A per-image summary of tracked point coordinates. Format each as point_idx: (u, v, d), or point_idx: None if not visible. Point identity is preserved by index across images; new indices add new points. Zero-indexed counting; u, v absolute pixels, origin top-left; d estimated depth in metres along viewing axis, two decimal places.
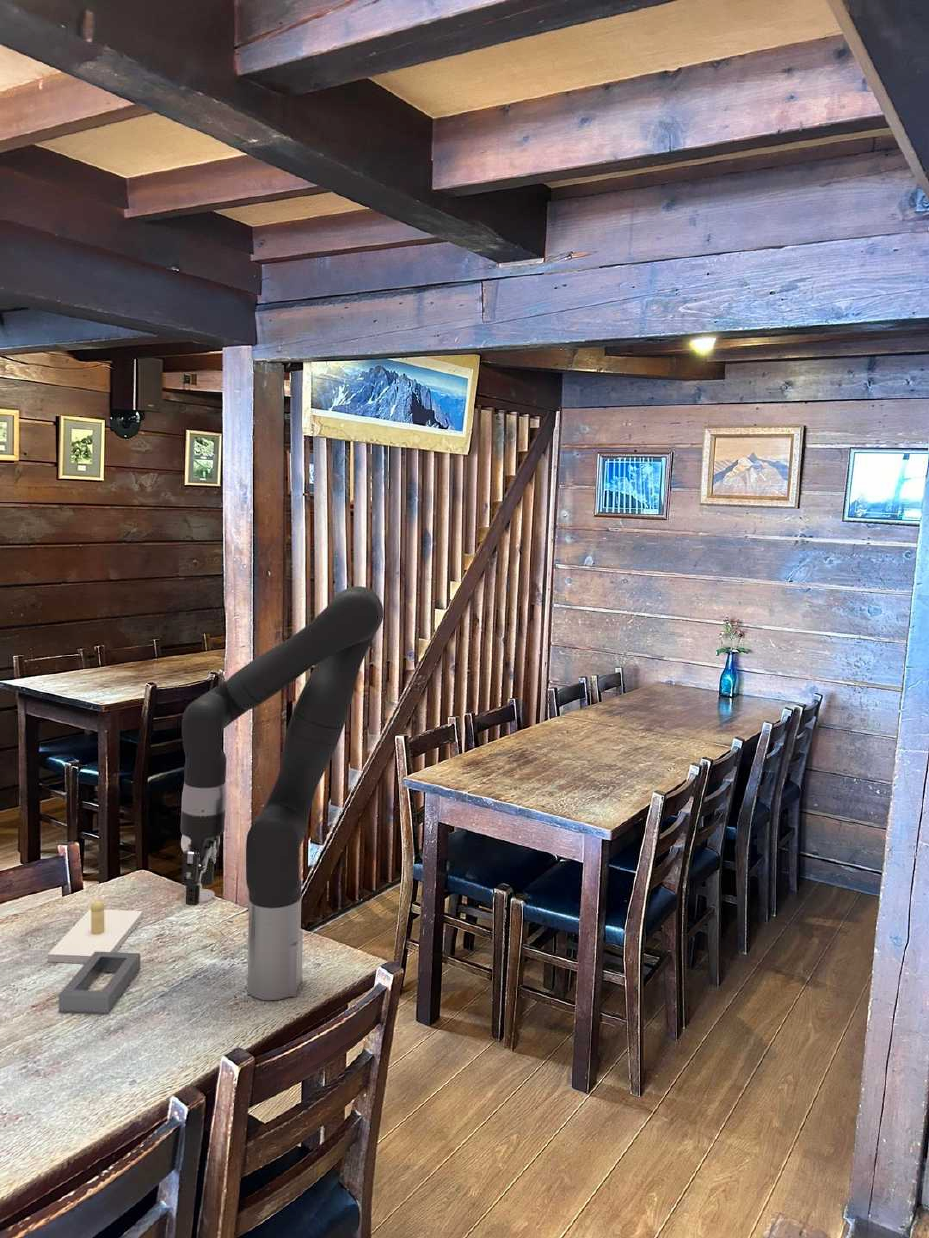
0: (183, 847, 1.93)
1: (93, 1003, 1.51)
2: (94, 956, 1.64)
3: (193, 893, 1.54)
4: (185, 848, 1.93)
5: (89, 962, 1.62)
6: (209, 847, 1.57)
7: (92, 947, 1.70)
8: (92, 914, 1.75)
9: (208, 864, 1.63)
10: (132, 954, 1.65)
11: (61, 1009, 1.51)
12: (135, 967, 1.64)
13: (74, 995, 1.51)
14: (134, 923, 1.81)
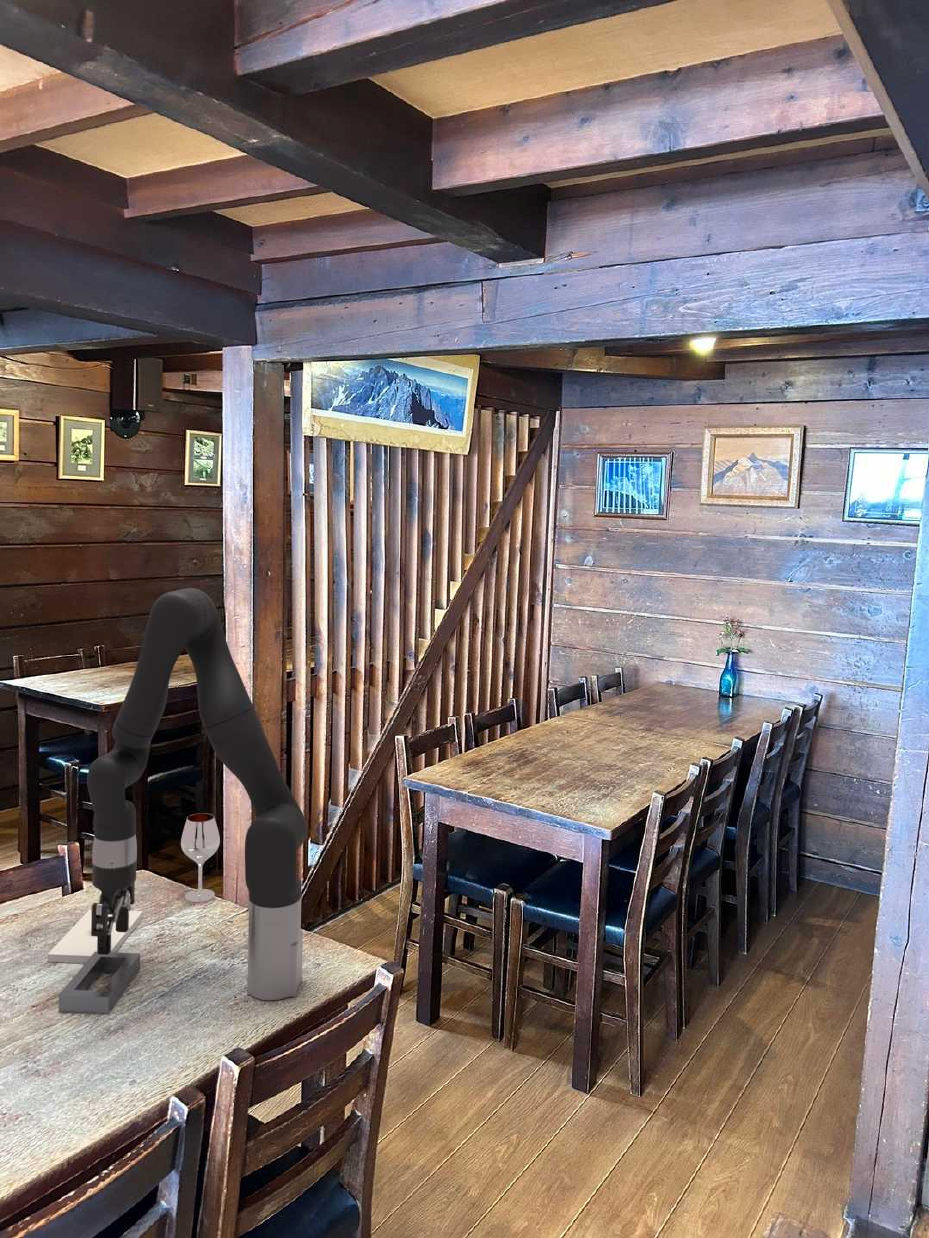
0: (183, 847, 1.93)
1: (93, 1003, 1.51)
2: (94, 956, 1.64)
3: (104, 943, 1.59)
4: (185, 848, 1.93)
5: (89, 962, 1.62)
6: (120, 897, 1.62)
7: (92, 947, 1.70)
8: None
9: (123, 912, 1.68)
10: (132, 954, 1.65)
11: (61, 1009, 1.51)
12: (135, 967, 1.64)
13: (74, 995, 1.51)
14: (134, 923, 1.81)
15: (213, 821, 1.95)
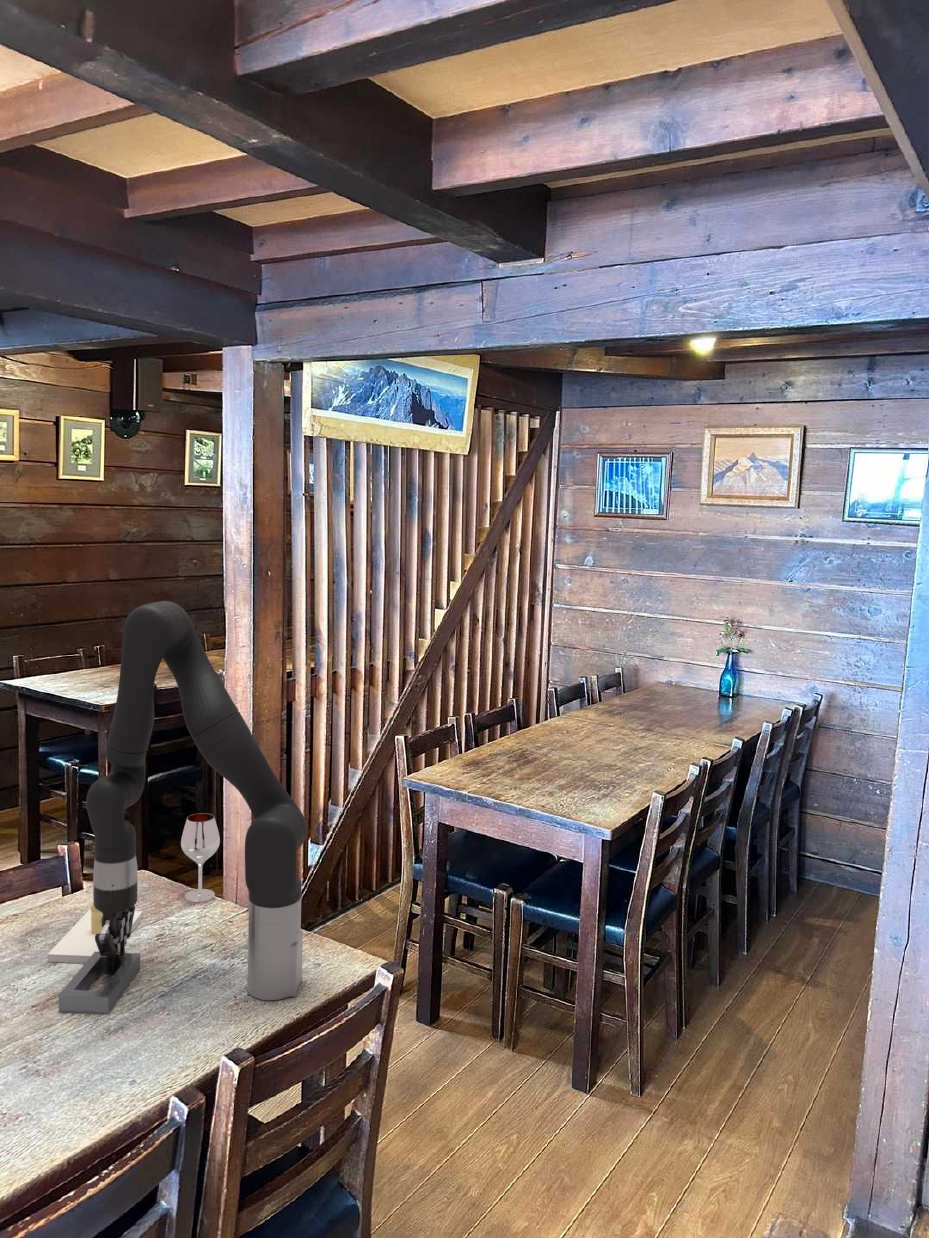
0: (183, 847, 1.93)
1: (93, 1003, 1.51)
2: (94, 956, 1.64)
3: (113, 962, 1.63)
4: (185, 848, 1.93)
5: (89, 962, 1.62)
6: (121, 920, 1.62)
7: (92, 947, 1.70)
8: (92, 914, 1.75)
9: None
10: (132, 954, 1.65)
11: (61, 1009, 1.51)
12: (135, 967, 1.64)
13: (74, 995, 1.51)
14: (134, 923, 1.81)
15: (213, 821, 1.95)
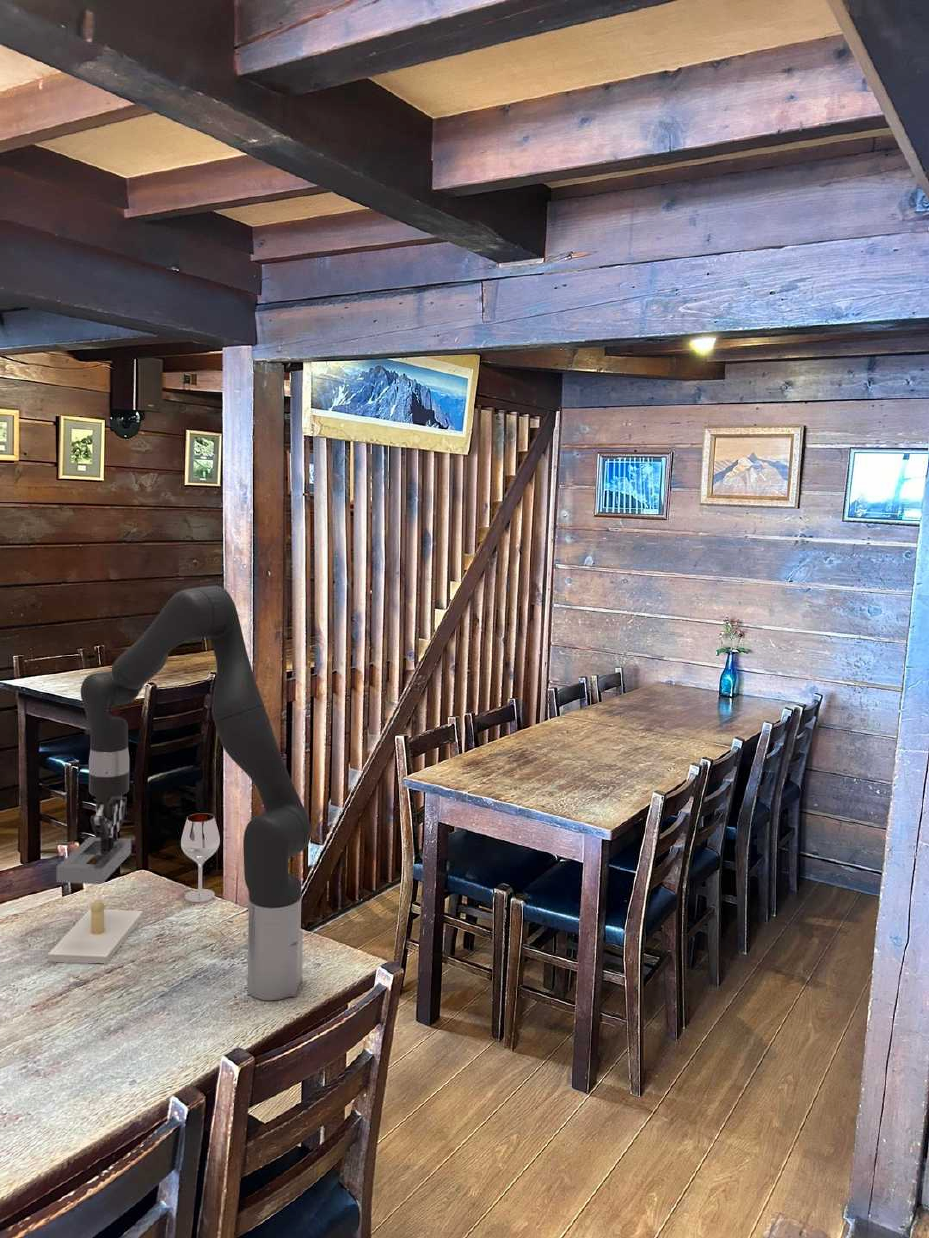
0: (183, 847, 1.93)
1: (88, 874, 1.67)
2: (89, 840, 1.80)
3: (106, 844, 1.79)
4: (185, 848, 1.93)
5: (84, 844, 1.78)
6: (114, 806, 1.78)
7: (92, 947, 1.70)
8: (92, 914, 1.75)
9: None
10: (124, 839, 1.81)
11: (59, 879, 1.67)
12: (126, 850, 1.79)
13: (71, 867, 1.67)
14: (134, 923, 1.81)
15: (213, 821, 1.95)
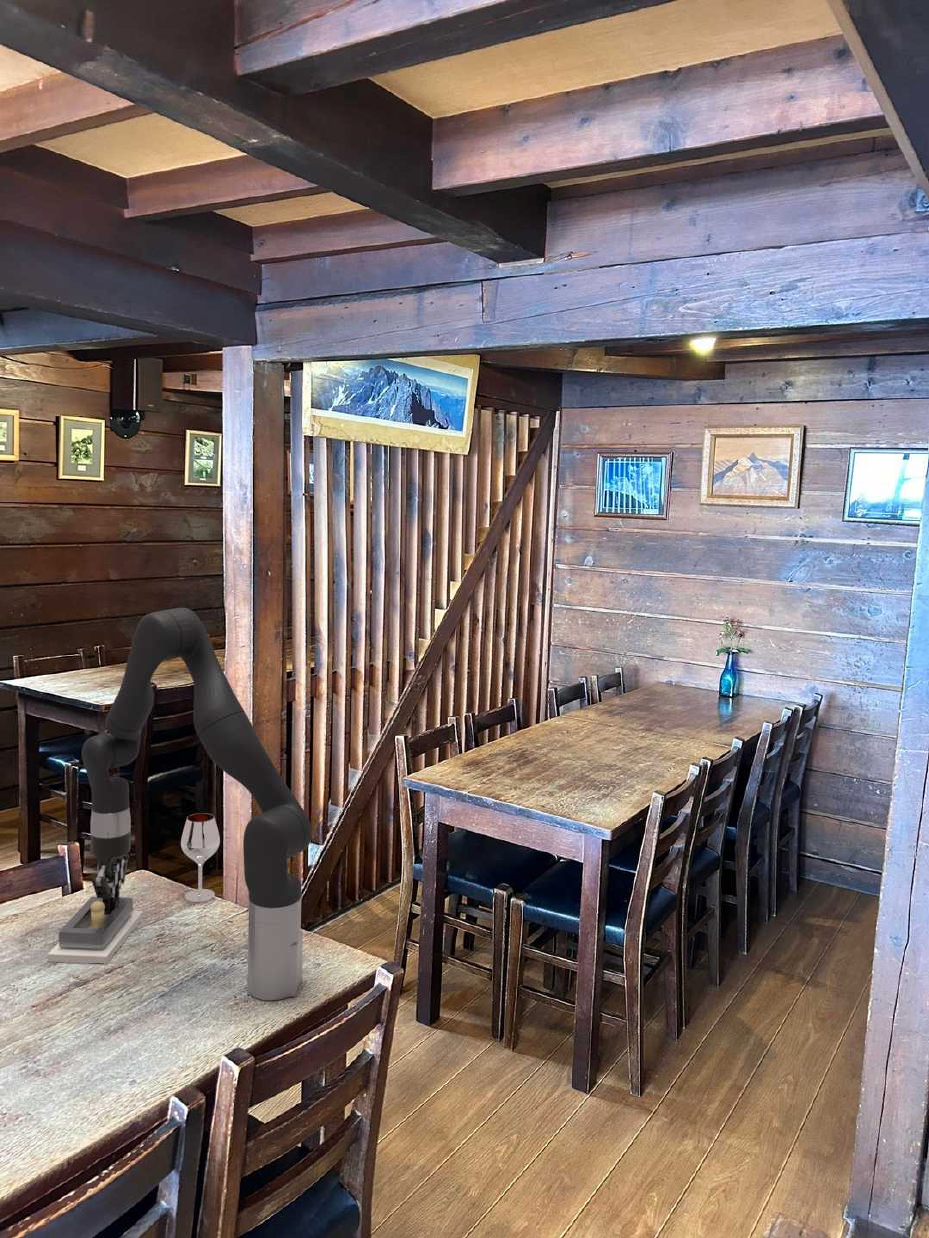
0: (183, 847, 1.93)
1: (90, 939, 1.69)
2: (91, 900, 1.82)
3: (108, 904, 1.80)
4: (185, 848, 1.93)
5: (86, 905, 1.80)
6: (116, 866, 1.80)
7: None
8: (92, 914, 1.75)
9: None
10: (126, 898, 1.83)
11: (61, 944, 1.69)
12: (128, 910, 1.81)
13: (73, 932, 1.69)
14: (134, 923, 1.81)
15: (213, 821, 1.95)
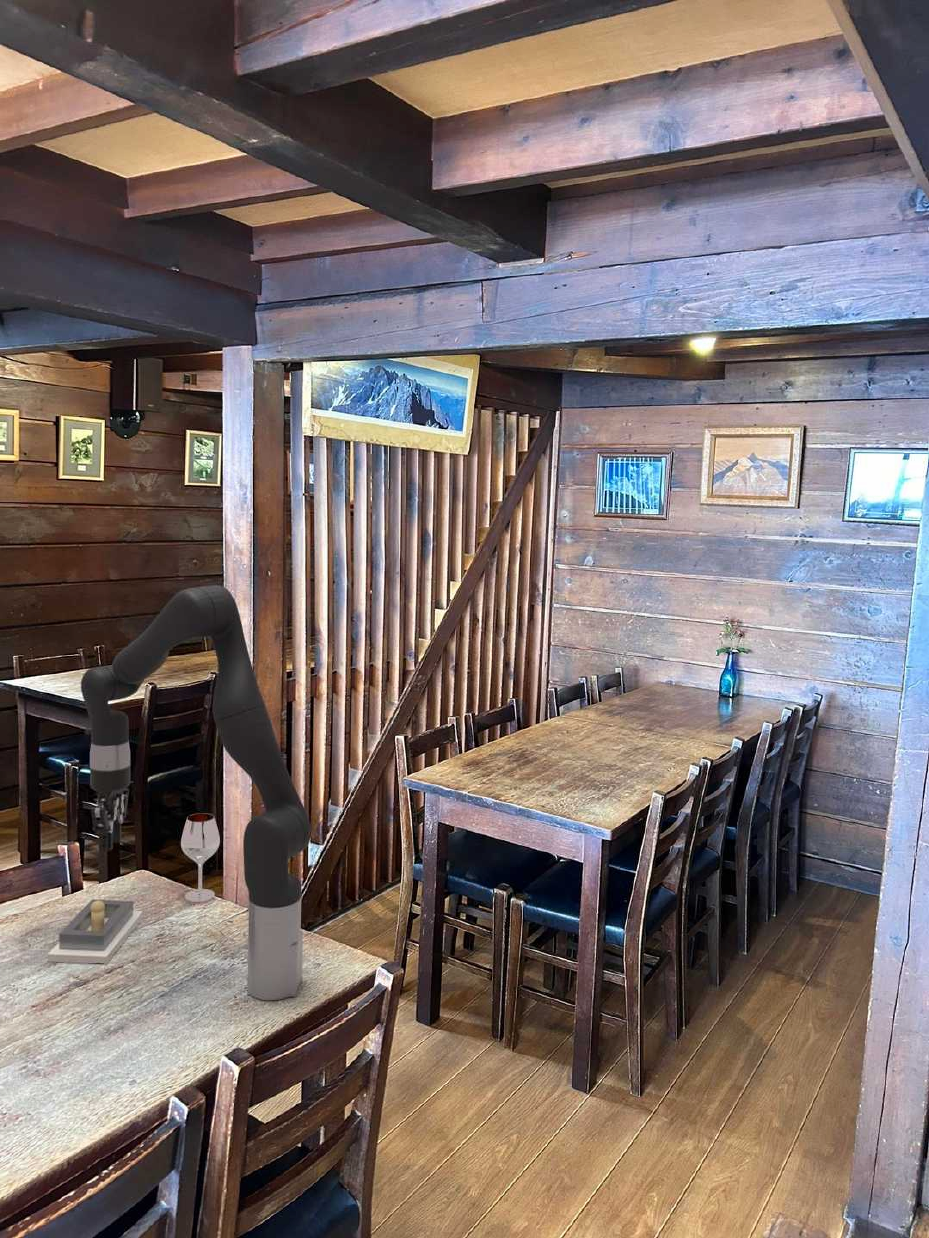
0: (183, 847, 1.93)
1: (90, 941, 1.69)
2: (91, 903, 1.82)
3: (106, 840, 1.78)
4: (185, 848, 1.93)
5: (87, 908, 1.80)
6: (116, 800, 1.78)
7: None
8: (92, 914, 1.75)
9: (115, 824, 1.83)
10: (126, 902, 1.83)
11: (61, 946, 1.69)
12: (128, 913, 1.81)
13: (73, 934, 1.69)
14: (134, 923, 1.81)
15: (213, 821, 1.95)
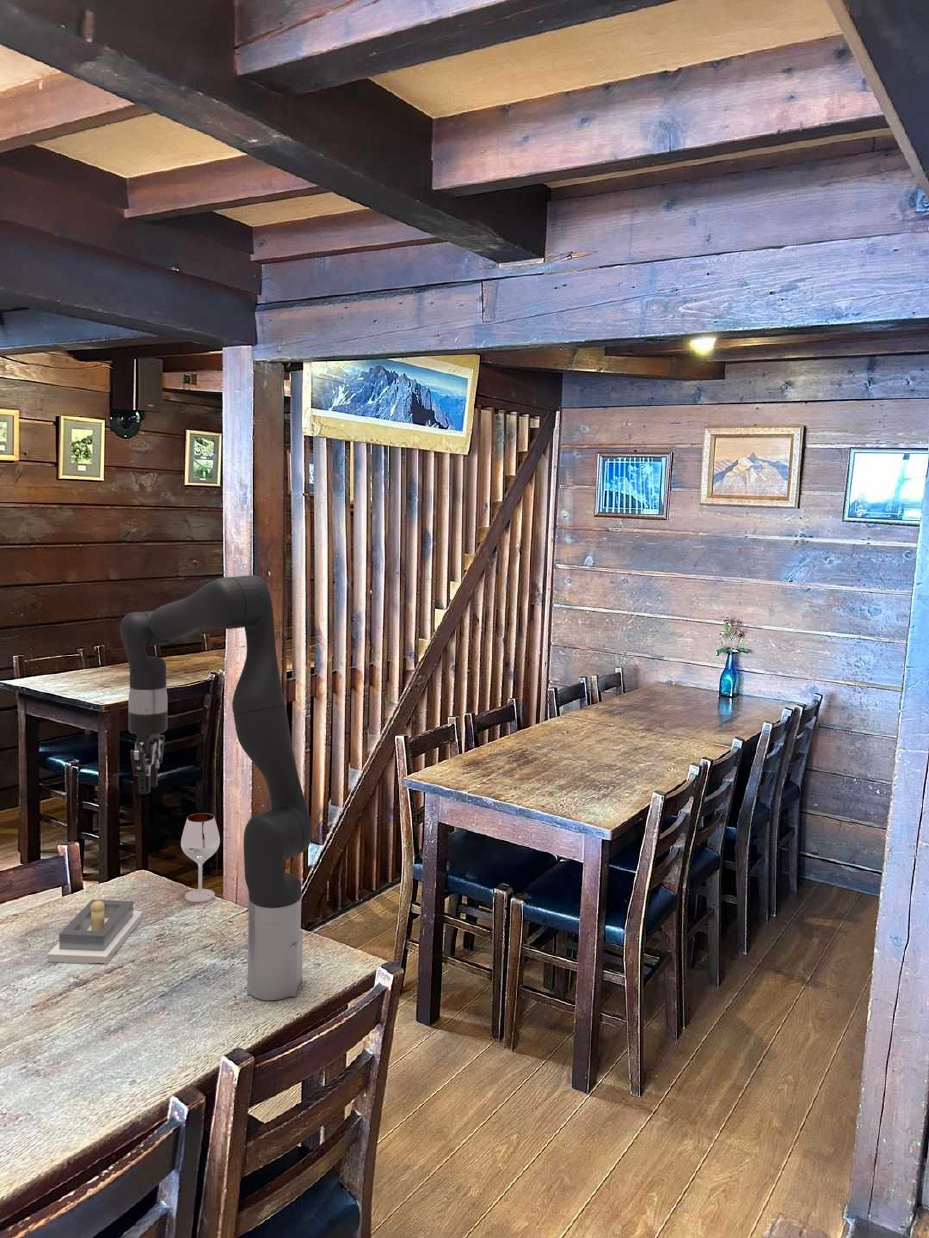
0: (183, 847, 1.93)
1: (90, 941, 1.69)
2: (91, 903, 1.82)
3: (144, 783, 1.81)
4: (185, 848, 1.93)
5: (87, 908, 1.80)
6: (153, 744, 1.81)
7: None
8: (92, 914, 1.75)
9: (152, 769, 1.86)
10: (126, 902, 1.83)
11: (61, 946, 1.69)
12: (128, 913, 1.81)
13: (73, 934, 1.69)
14: (134, 923, 1.81)
15: (213, 821, 1.95)
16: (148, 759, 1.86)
